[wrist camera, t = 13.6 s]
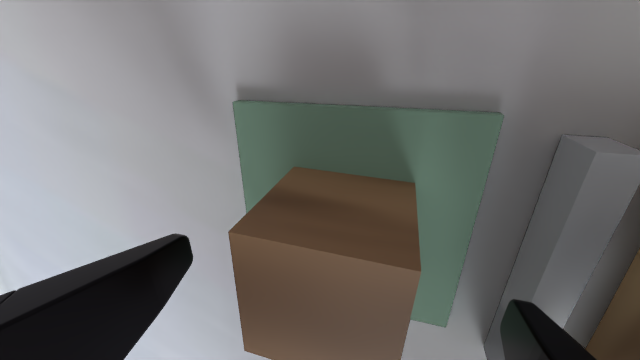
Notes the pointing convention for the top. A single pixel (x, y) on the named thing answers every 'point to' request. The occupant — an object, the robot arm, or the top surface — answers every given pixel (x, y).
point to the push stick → (620, 321)
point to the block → (328, 267)
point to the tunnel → (569, 228)
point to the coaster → (383, 170)
